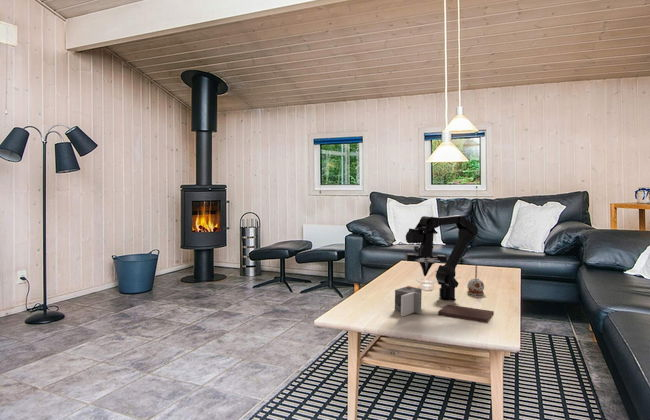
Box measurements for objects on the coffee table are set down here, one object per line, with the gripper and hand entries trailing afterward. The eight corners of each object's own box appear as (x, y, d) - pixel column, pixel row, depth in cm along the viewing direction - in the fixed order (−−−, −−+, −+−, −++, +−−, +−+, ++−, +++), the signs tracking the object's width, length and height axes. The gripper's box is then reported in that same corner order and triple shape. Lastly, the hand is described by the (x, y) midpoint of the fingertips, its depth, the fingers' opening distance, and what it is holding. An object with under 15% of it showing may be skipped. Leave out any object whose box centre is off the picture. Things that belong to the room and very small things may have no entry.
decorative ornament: (474, 296, 212) (475, 266, 211) (464, 292, 219) (464, 263, 218) (487, 295, 215) (488, 265, 214) (476, 291, 222) (477, 262, 221)
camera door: (413, 311, 184) (414, 291, 184) (420, 313, 182) (421, 293, 181) (400, 315, 178) (401, 295, 177) (407, 317, 175) (408, 297, 175)
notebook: (447, 307, 194) (447, 303, 194) (493, 314, 184) (493, 310, 184) (437, 316, 181) (438, 311, 181) (487, 324, 171) (487, 319, 171)
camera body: (407, 305, 194) (408, 284, 194) (421, 309, 189) (421, 287, 189) (392, 310, 186) (393, 289, 186) (406, 314, 181) (406, 291, 181)
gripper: (441, 241, 209) (439, 273, 210) (403, 240, 208) (401, 271, 209) (448, 244, 198) (446, 278, 198) (408, 243, 197) (406, 276, 198)
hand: (424, 276), depth 201 cm, fingers closed
